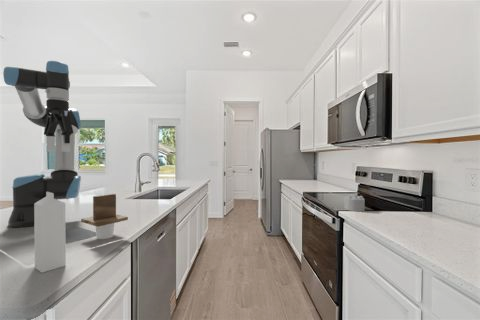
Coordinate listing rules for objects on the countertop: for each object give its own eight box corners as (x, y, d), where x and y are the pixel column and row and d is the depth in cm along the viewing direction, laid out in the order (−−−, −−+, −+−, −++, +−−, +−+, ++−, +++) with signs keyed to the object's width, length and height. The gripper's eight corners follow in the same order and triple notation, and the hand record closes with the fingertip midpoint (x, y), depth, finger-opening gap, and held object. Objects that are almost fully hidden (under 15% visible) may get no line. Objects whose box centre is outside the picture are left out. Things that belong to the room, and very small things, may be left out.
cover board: (81, 221, 99) (81, 195, 99) (111, 215, 109) (111, 192, 109) (97, 226, 92) (97, 198, 92) (127, 219, 102) (127, 194, 102)
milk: (58, 261, 79) (58, 190, 79) (65, 266, 75) (66, 192, 75) (33, 267, 74) (34, 192, 74) (40, 273, 71) (40, 194, 70)
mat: (40, 236, 103) (40, 234, 103) (78, 228, 115) (78, 226, 115) (63, 245, 92) (63, 244, 92) (102, 235, 104) (102, 234, 104)
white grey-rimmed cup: (106, 241, 97) (106, 223, 97) (90, 240, 98) (90, 222, 98) (118, 236, 103) (118, 219, 103) (103, 235, 105) (103, 218, 105)
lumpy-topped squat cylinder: (358, 207, 165) (359, 194, 165) (368, 211, 152) (368, 197, 152) (342, 207, 165) (342, 194, 165) (351, 211, 152) (351, 197, 152)
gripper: (34, 101, 108) (34, 151, 109) (61, 95, 95) (62, 151, 96) (54, 104, 115) (54, 151, 115) (82, 98, 102) (83, 151, 102)
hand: (58, 151), depth 106 cm, fingers open, 13 cm apart
